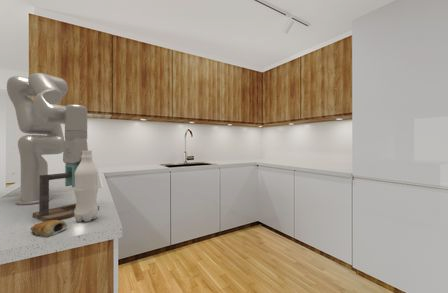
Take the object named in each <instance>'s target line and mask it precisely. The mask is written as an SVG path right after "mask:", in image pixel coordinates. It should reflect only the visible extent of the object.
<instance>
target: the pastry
mask: <svg viewBox="0 0 448 293" xmlns="http://www.w3.org/2000/svg"><path fill="white" fill-rule="evenodd" d="M67 228H68V223H67V222H66V221H64V220H60V221H58V220H50V221H46V222H45V221H43V222H38V223H35V224H34V225H33V226H31V229H30V231H31V232H32V233H33V234H35V235H36V236H39V235H40V237H44V236H46V238H48V237H52V236H56V235H57V234H59V233H61V232H63V231H66V229H67Z"/></svg>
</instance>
